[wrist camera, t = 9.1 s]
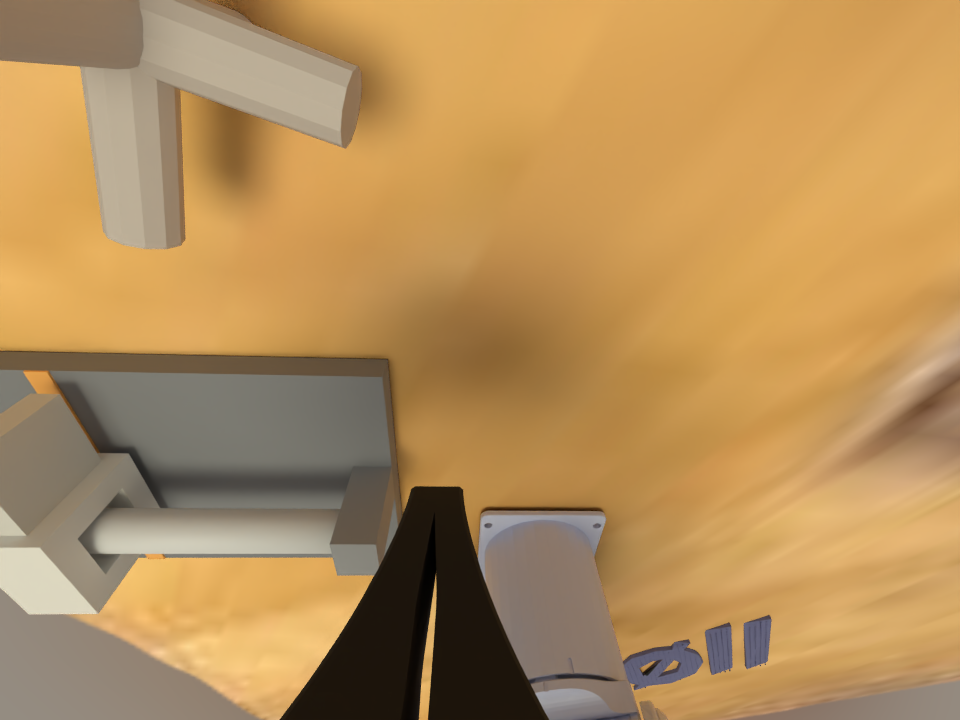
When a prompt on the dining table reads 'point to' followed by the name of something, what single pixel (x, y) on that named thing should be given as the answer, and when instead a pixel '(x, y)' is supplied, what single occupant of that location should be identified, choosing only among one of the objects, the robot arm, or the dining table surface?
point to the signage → (691, 660)
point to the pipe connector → (173, 91)
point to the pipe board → (234, 451)
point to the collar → (59, 509)
